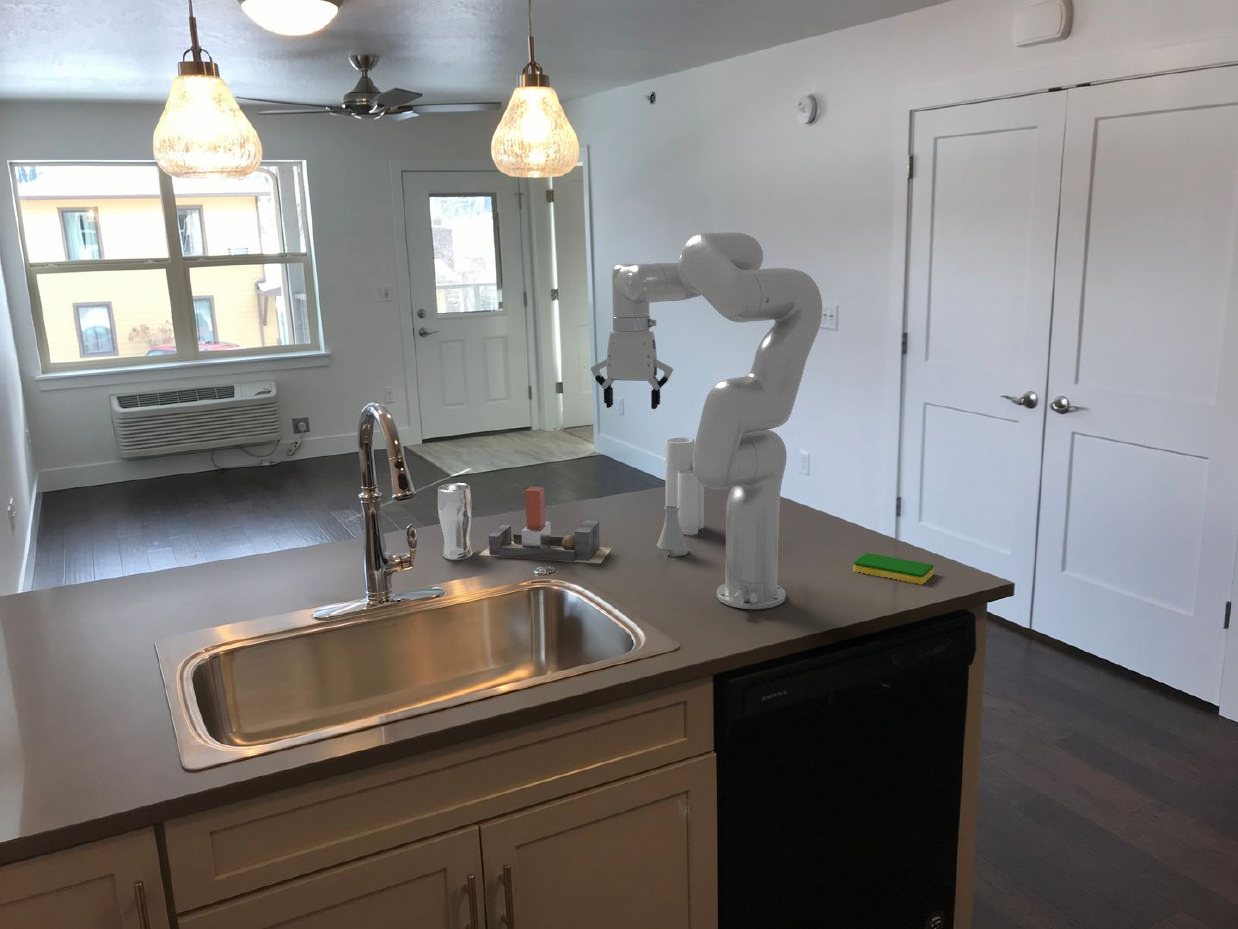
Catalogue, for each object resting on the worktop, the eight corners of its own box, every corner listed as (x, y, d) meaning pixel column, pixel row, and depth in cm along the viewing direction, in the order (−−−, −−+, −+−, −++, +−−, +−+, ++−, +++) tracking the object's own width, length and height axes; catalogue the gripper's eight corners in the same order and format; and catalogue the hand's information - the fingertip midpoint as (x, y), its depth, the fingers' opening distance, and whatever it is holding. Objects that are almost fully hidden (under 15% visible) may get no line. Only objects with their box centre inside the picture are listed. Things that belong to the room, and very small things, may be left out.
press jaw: (540, 555, 197) (538, 493, 194) (522, 553, 198) (520, 492, 195) (551, 544, 204) (549, 485, 201) (533, 543, 205) (531, 484, 202)
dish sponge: (865, 563, 197) (866, 552, 196) (933, 576, 189) (934, 564, 189) (852, 573, 191) (853, 562, 190) (922, 587, 183) (923, 575, 183)
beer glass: (464, 562, 199) (460, 492, 196) (434, 559, 202) (430, 490, 198) (479, 552, 206) (476, 484, 202) (450, 549, 208) (447, 482, 204)
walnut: (576, 556, 198) (576, 538, 197) (560, 555, 198) (559, 537, 197) (581, 550, 201) (581, 533, 200) (565, 549, 202) (564, 532, 201)
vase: (660, 523, 224) (659, 439, 220) (686, 519, 228) (686, 436, 223) (685, 536, 215) (685, 448, 210) (712, 531, 218) (713, 445, 213)
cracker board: (600, 570, 194) (599, 534, 192) (479, 562, 199) (477, 527, 198) (612, 554, 203) (611, 520, 201) (496, 547, 209) (494, 513, 207)
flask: (689, 558, 200) (690, 511, 198) (655, 558, 201) (654, 512, 198) (688, 546, 207) (688, 502, 205) (654, 547, 208) (654, 502, 205)
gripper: (675, 323, 199) (675, 405, 203) (595, 323, 203) (596, 403, 207) (669, 327, 192) (669, 411, 196) (585, 326, 196) (587, 409, 200)
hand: (632, 407), depth 202 cm, fingers open, 9 cm apart
